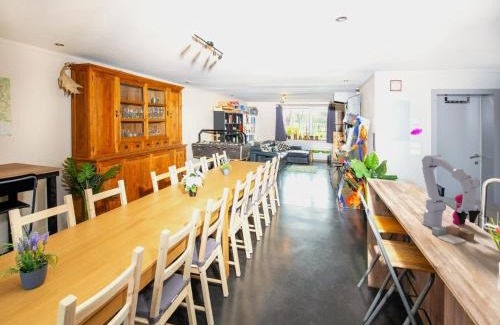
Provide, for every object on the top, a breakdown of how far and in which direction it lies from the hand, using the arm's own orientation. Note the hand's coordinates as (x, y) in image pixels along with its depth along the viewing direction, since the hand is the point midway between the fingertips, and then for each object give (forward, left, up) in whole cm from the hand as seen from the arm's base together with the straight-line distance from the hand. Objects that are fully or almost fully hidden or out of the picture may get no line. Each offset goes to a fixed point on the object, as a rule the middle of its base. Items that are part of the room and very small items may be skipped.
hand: (466, 223), depth 157 cm
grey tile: (-1, -10, -8) cm, 13 cm away
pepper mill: (-17, +18, -9) cm, 27 cm away
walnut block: (0, 0, -8) cm, 8 cm away
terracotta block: (-7, 0, -8) cm, 11 cm away
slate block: (-9, -9, -8) cm, 15 cm away
